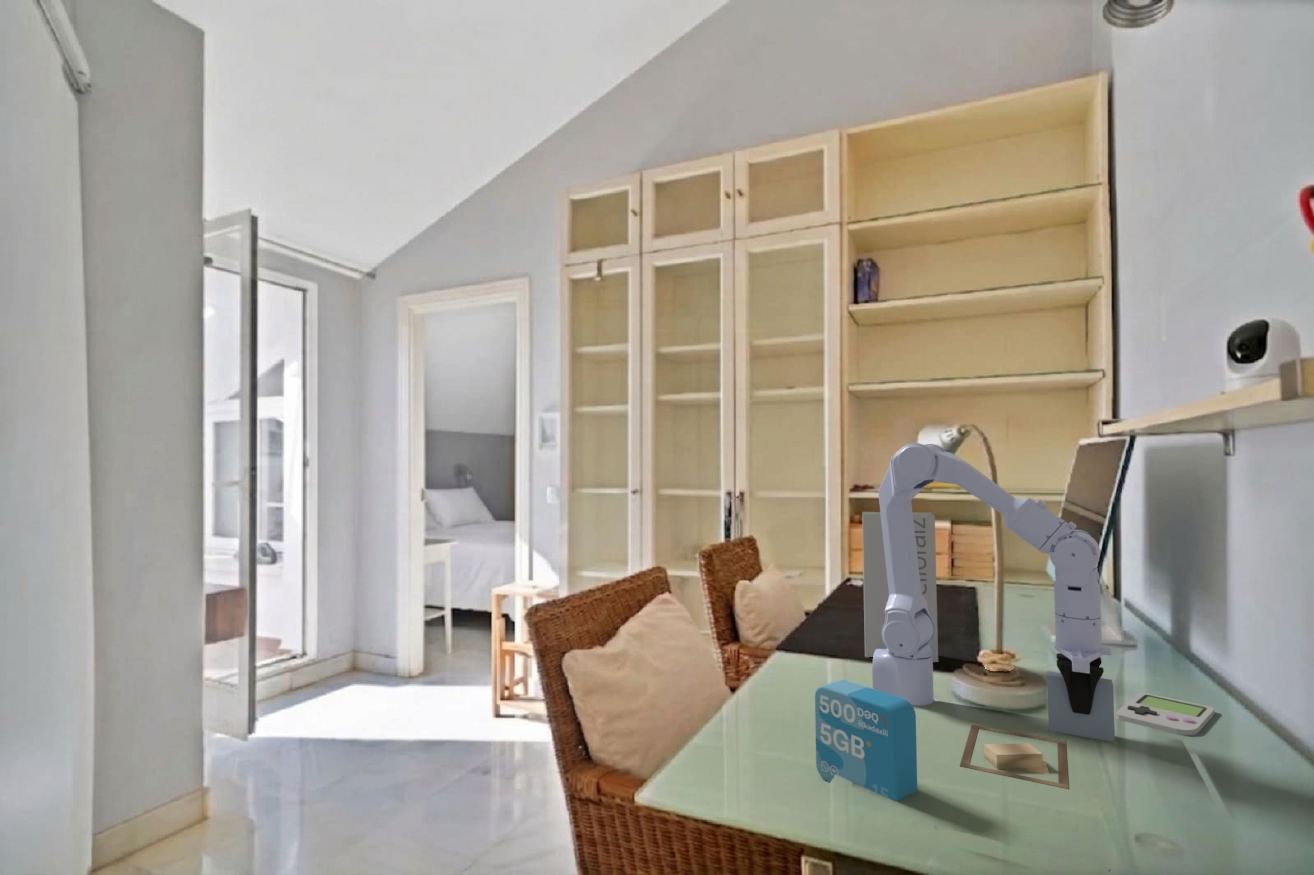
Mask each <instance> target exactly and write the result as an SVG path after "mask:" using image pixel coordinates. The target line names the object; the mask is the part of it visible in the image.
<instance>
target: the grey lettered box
mask: <svg viewBox="0 0 1314 875" xmlns="http://www.w3.org/2000/svg"><path fill="white" fill-rule="evenodd" d="M861 515H862V518H861V519H862V520H861V521H862V524H861V525H862V568H863V570H862V571H863V574H862V575H863V612H864V613H863V616H864V617H863V618H864V619H863V620H864V622H863V623H864V628H863V629H864V657H865V658H869V657H873V655H874V652H875V650H876V649H887V647H886V645H885V644H884V642H883V639H882V628H883V625H884V623H885V608H886V605H887V601H888V598H889V587H888V578H887V569H886V559H885V550H884V541H883V532H882V522H881V513H880V511H878V512H877V511H862V513H861ZM913 521H914V530H915V539H916V548H917V557H918V566H919V575H920V584H921V592H922V595H923V596H924V598H925V600H926V601H927V607H928V611H929V614H930V615H931V617H932V618H933V620H934V622H935V627H936V632H935V635H934V637H933V639H932V640H931V641H930V642H929V645H930V648H931V649H932V652H933V654H932V655H933V663H935V662H938V663H939V644H938V643H939V638H938V637H939V636H938V635H939V634H938V601H937V600H938V599H937V598H938V597H937V594H938V592H937V590H938V589H937V560H936V559H937V556H936V554H937V553H936V514H933V513H932V512H913Z"/></svg>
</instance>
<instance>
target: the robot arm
mask: <svg viewBox="0 0 1314 875" xmlns="http://www.w3.org/2000/svg"><path fill="white" fill-rule="evenodd" d="M934 482H935V483H943V484H950V485H951V484H952V485H956V486H959V487H960V488H961V489H962V490H965V491H966V492H968V493H969V494H971V495H972V496H974V497H975V498H977V499H978V500H980V501H981V502H983V503H984V504H986V505H987V506H989V507H990V508H992V509H994V511H996V512H998V513H1000V514H1001V516H1002V518H1003V521H1004V522H1003V523H1004V527H1005V528H1006V529H1008V530H1010V531H1011V533H1014V534H1015V535H1016V536H1017V537H1019V538H1020V539H1022V540H1023V541H1025V542H1026V543H1027V544H1029V545H1031V546H1032V547H1033V548H1034V549H1036V550H1037V551H1039V553H1042V554H1048V555H1049V559H1050V561H1051V563H1052V565H1053V566H1054V572H1055V573H1054V576H1055V577H1054V578H1055V580H1054V582H1053V590H1054V591H1053V592H1054V594H1053V596H1054V628H1055V629H1054V630H1055V641H1054V642H1053V646H1054V649H1055V651H1057V652H1058V653H1056V654H1055V655H1056V656H1055V657H1056V666H1057V669H1058V670H1059V673H1061V674H1062V676H1063V678H1064V681H1065V684H1066V687H1067V691H1068V696H1069V701H1070V705H1071V708H1072V711H1073V712H1074V713H1080V714H1086V715H1090V712H1091V708H1092V703H1093V697H1094V692H1095V688H1096V686H1097V683H1098V681H1099V679H1100V678H1102V677H1103V674H1104V672H1105V671H1104V667H1100V666H1101V665H1102V656H1112V655H1113V649H1112V647H1109V646H1103V635H1102V633H1103V632H1102V631H1103V630H1102V609H1101V607H1102V605H1101V603H1102V601H1101V585H1100V584H1099V580H1100V573H1099V571H1098V570H1099V568H1098V567H1097V565H1098V563H1099V559H1100V557H1101V549H1100V546H1099V544H1098V541H1097V540H1096V539H1095V538H1094V537H1092V536H1091V535H1090V533H1089V532H1088V531H1085V530H1080V529H1076V528H1077V524H1076V523H1074V522H1073V521H1070V522H1067V521H1065V519H1063V518H1061V517H1059V516H1058V515H1057V514H1055V513H1053V512H1052V511H1051V510H1049V509H1047V508H1046V507H1047V506H1048V504H1047V503H1046V502H1045V501H1044V500H1042V499H1038V500H1034V499H1033V498H1031V497H1023V498H1016V497H1015V496H1014V495H1012V493H1009V492H1008V491H1007V490H1006V489H1004V488H1003V487H1001V486H1000V485H998V484H997V483H996V482H995V481H993V479H992V480H991V479H990V478H989V477H988V476H986V475H985V474H984V473H982V472H981V471H979V470H978V469H977V468H976V467H974V466H973V465H971V464H970V463H969V462H967V461H966V460H964V459H962V458H960V457H959V456H957V454H954V453H952V452H949V451H946V450H945V449H944V448H943V447H941V446H940V445H937V444H935V443H927V444H923V443H920V442H919V443H918V442H913V443H908V444H905V445H904V446H902V447H901V448H900V449H899V450H897V452H896V453H895V454H894V455H892V456H891V457H890V460H889V466H888V468H887V471H886V474H885V475H884V477H883V480H882V482H881V484H880V486H879V488H878V501H879V512H880V513H881V522H882V532H883V541H884V550H885V559H886V569H887V578H888V587H889V598H888V601H887V605H886V608H885V623H884V625H883V628H882V639H883V642H884V644H885V645H886V647H887V649H876V650H875V652H874V655H873V658H872V665H871V666H872V667H871V670H872V673H871V674H872V689H875V690H878V691H881V692H884V693H888V694H891V695H894V696H897V697H900V698H903V699H906V700H907V701H909V702H910V703H911V705H912V706H915V707H917V706H918V707H922V706H928V705H932V704H933V703H934V702H940V700H939V699H937V698H935V696H934V664H933V663H934V662H933V655H932V654H933V652H932V649H931V648H930V645H929V642H930V641H931V640H932V639H933V637H934V635H935V632H936V627H935V622H934V620H933V618H932V617H931V615H930V614H929V611H928V607H927V601H926V600H925V598H924V596H923V595H922V592H921V584H920V575H919V566H918V557H917V548H916V539H915V530H914V521H913V513H914V512H913V505H912V501H913V499H914V498H915V497H916V496H917V495H918V494H919V493H920V492H921V491H922V490H923V489H924V488H925V487H927V486H928V485H931V484H932V483H934Z"/></svg>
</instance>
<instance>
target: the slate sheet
mask: <svg viewBox="0 0 1314 875" xmlns="http://www.w3.org/2000/svg"><path fill="white" fill-rule="evenodd" d="M1046 682H1047V683H1046V684H1047V711H1048V712H1047V714H1048V716H1047V718H1048V722H1047V723H1048V731H1049V732H1054V733H1060V734H1066V735H1072V736H1078V737H1083V738H1084V737H1085V738H1089V739H1095V740H1100V741H1106V742H1112V743H1115V742H1116V737H1115V736H1116V734H1115V707H1114V706H1115V704H1114V700H1115V699H1114V684H1113V680H1112V679H1110V678H1102V677H1101V678H1100V679H1099V681H1098V683H1097V686H1096V688H1095V692H1094V697H1093V703H1092V708H1091V712H1090V715H1086V714H1080V713H1074V712H1073V711H1072V708H1071V705H1070V701H1069V696H1068V691H1067V687H1066V684H1065V681H1064V678H1063V676H1062V674H1061V672H1058V671H1057V672H1055V671H1049V670H1046Z"/></svg>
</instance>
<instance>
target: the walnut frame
mask: <svg viewBox="0 0 1314 875" xmlns="http://www.w3.org/2000/svg"><path fill="white" fill-rule="evenodd" d="M979 730H983V731H989V732H995V733H1001V734H1006V735H1012V736H1017V737H1021V738H1027V739H1034V740H1039V741H1044V742H1049V743H1054V744H1055V743H1056V744H1057V771H1058V772H1057V774H1058V775H1057V776H1058V782H1056V781H1055V782H1054V781H1052V780H1046V779H1042V778H1036V777H1031V776H1027V775H1022V774H1016V773H1012V772H1007V771H1002V770H999V769H993V768H988V767H983V766H978V765H973V764H970V763H971V758H972V755H973V751H974V747H975V743H976V739H977V736H978V732H979ZM1067 758H1068V757H1067V741H1066V740H1060V739H1055V738H1049V737H1043V736H1037V735H1032V734H1027V733H1022V732H1017V731H1009V730H1004V729H999V728H998V729H997V728H993V727H986V726H981V725H976V724H971V726H970V729H969V733H968V736H967V740H966V744H965V746H964V749H963V752H962V757H961V760H960V764H959V767H962V768H965V769H969V770H975V771H980V772H985V773H990V774H994V775H999V776H1004V777H1008V778H1014V779H1017V780H1018V779H1019V780H1024V781H1027V782H1033V783H1038V784H1042V785H1046V786H1051V787H1057V788H1059V789H1066V790H1069V773H1068V772H1069V771H1068V759H1067Z"/></svg>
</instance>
